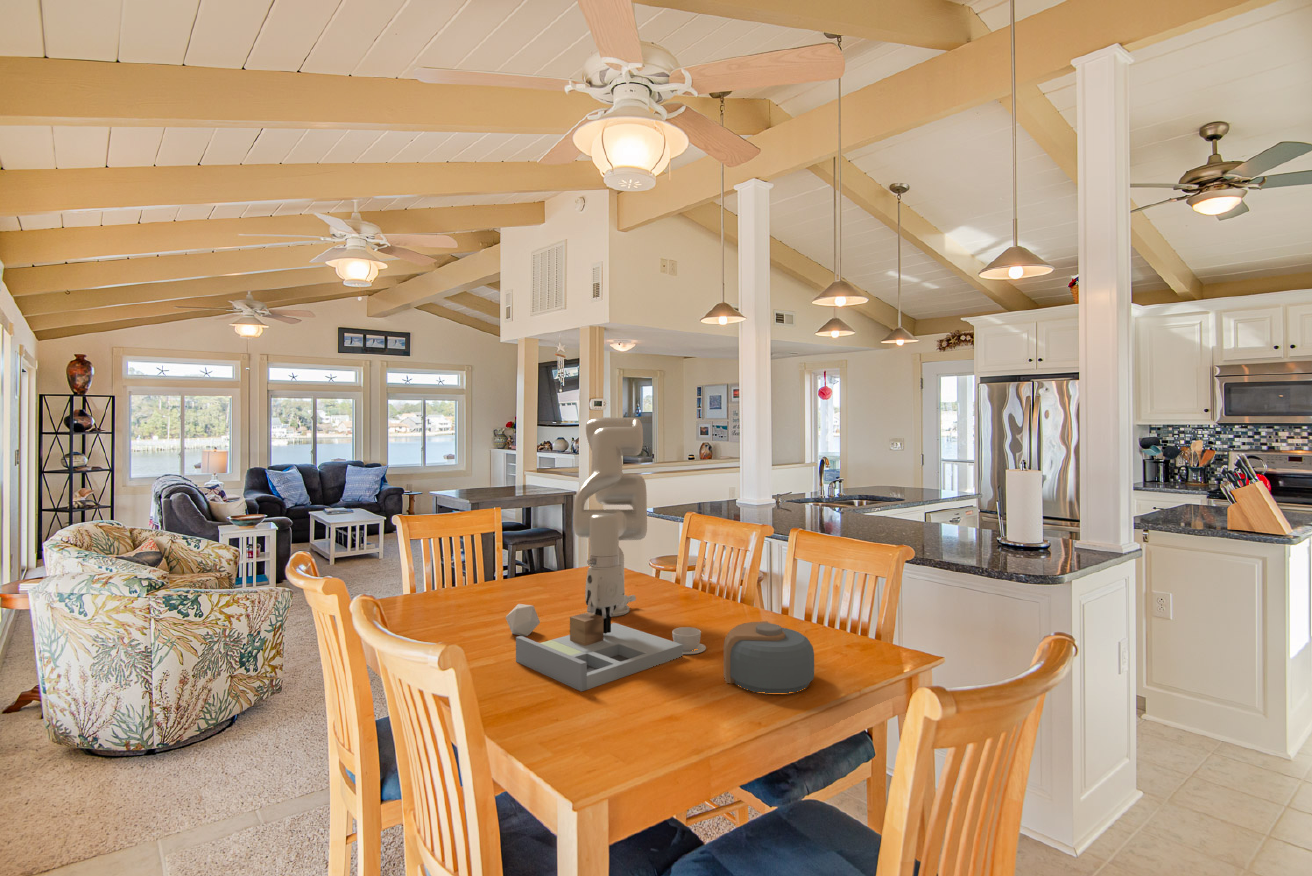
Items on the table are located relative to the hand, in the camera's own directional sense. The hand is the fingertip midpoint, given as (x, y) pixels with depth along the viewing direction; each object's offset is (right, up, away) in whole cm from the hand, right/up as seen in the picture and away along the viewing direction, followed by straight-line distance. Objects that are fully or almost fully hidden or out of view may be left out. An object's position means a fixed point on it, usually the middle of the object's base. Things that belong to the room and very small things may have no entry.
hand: (604, 631), depth 172 cm
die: (-24, -4, +12) cm, 27 cm away
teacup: (+21, -4, -2) cm, 22 cm away
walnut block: (-4, -1, -4) cm, 6 cm away
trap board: (0, -4, -9) cm, 10 cm away
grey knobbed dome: (+39, -4, -23) cm, 45 cm away
